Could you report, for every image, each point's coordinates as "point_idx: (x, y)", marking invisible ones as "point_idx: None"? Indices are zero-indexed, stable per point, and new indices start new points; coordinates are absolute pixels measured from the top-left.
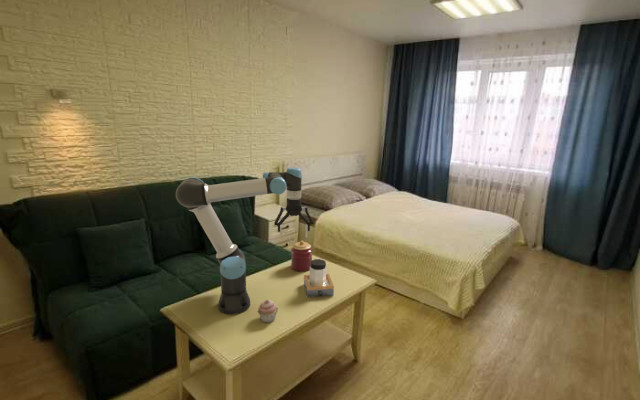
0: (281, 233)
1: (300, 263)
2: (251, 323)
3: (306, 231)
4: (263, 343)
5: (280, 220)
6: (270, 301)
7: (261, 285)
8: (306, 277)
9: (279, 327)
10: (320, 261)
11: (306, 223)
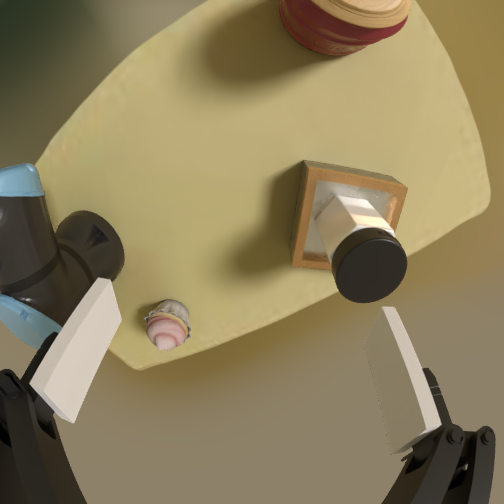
0: (101, 358)
1: (321, 43)
2: (142, 314)
3: (379, 397)
4: (173, 359)
5: (16, 448)
6: (167, 349)
7: (142, 140)
8: (314, 190)
9: (199, 337)
10: (386, 268)
11: (398, 478)
